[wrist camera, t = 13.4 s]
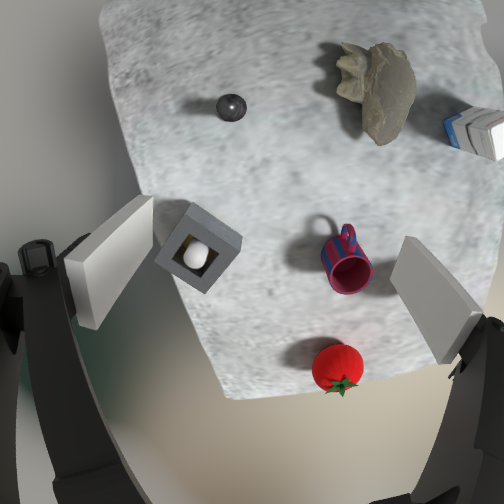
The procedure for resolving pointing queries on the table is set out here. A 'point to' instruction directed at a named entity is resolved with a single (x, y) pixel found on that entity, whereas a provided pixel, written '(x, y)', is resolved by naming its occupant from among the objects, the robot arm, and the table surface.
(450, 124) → the ink box
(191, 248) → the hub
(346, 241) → the mug
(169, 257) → the grey square bin
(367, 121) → the fossil
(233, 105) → the dark grey round-topped piece
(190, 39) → the table surface
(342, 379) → the tomato
